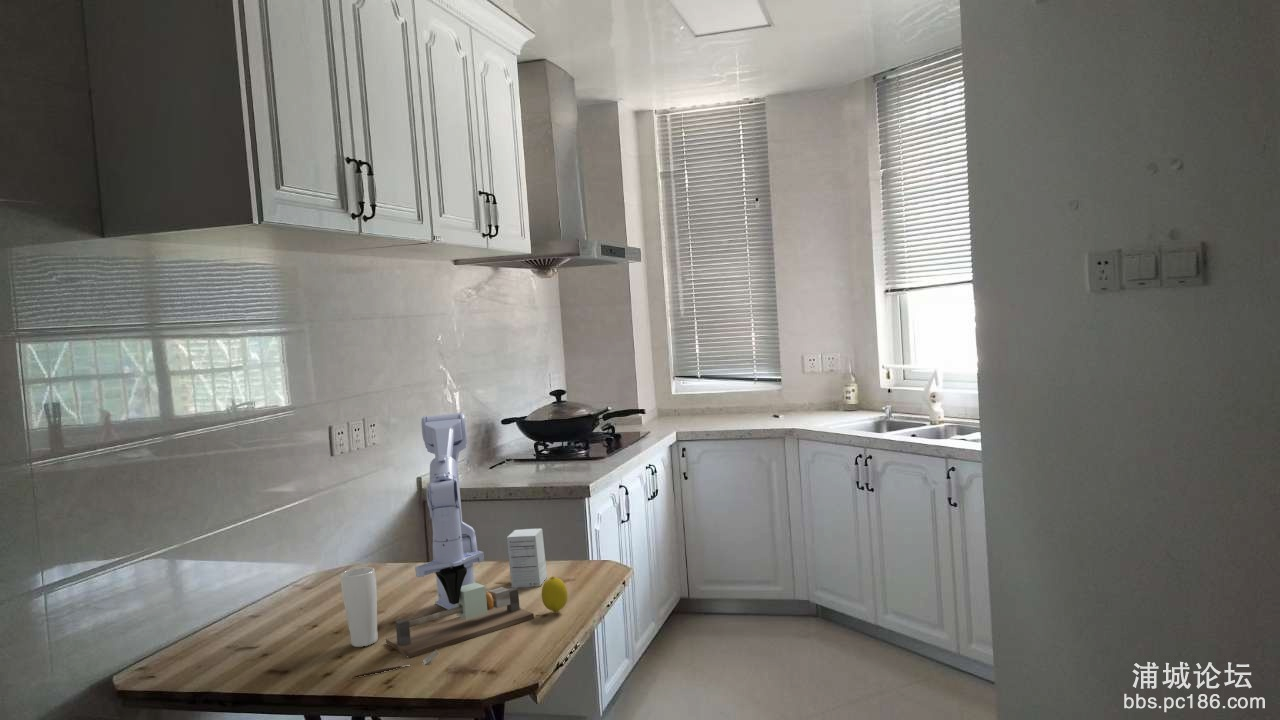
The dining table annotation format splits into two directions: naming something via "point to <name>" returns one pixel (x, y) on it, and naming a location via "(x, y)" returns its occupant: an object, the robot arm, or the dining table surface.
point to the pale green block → (472, 601)
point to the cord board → (459, 624)
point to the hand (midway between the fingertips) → (454, 602)
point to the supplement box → (526, 558)
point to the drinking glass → (360, 605)
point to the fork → (400, 666)
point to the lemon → (554, 594)
